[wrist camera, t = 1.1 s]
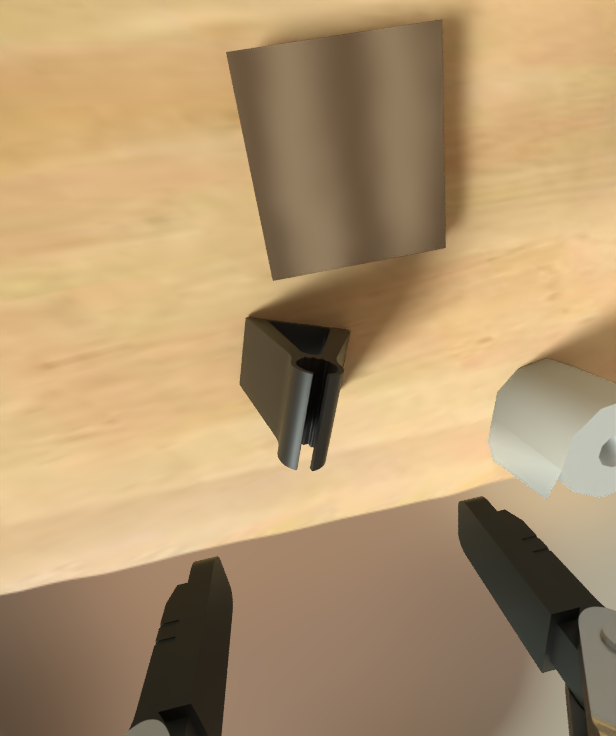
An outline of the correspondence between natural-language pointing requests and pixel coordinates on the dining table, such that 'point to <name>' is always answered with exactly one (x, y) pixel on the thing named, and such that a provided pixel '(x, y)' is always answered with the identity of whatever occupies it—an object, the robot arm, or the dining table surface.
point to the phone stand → (294, 382)
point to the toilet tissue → (556, 429)
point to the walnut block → (345, 146)
